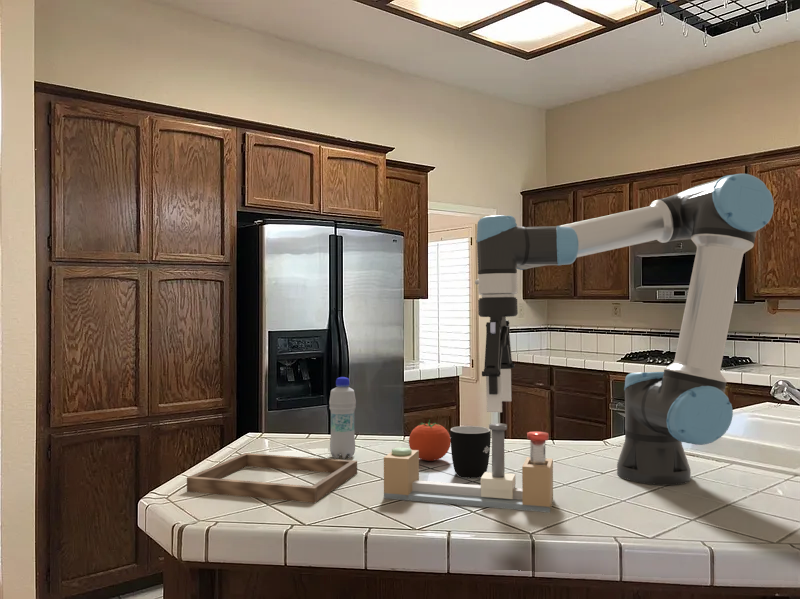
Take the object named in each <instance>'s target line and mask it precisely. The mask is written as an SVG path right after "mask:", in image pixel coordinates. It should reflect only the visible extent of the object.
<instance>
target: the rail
mask: <svg viewBox="0 0 800 599" xmlns="http://www.w3.org/2000/svg"><path fill="white" fill-rule="evenodd" d="M545 463H546V465H533V464H530V456H526V457H525V460H524V462H523V464H522V468H521V469H522V471H521V474H522V475H521V476H522V480H521V482H522V484H521V485H522V488H521V487H515V488H514V489H513V499H503V498H491V497H481V484H469V483H468V484H467V483H455V482H443V481H430V480H429V481H428V480H420V458H419V450H411V449H410V447H394V448H392V449H391V452H389V453H388V454H387V455H385V456H384V457H383V498H384V499H389V500H390V499H391V500H403V501H412V502H413V501H415V502H422V503H423V502H424V503H425V502H427V503H434V504H435V503H437V504H450V505H451V504H452V505H459V506H460V505H461V506H474V507H483V508H494V509H495V508H497V509H507V510H517V511H518V510H519V511H520V510H522V511H533V512H543V513H551V510H552V506H553V501H554V459H553V458H549V457H547V458H546V457H545Z"/></svg>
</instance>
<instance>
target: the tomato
mask: <svg viewBox="0 0 800 599" xmlns="http://www.w3.org/2000/svg"><path fill="white" fill-rule="evenodd" d="M408 446H409V449H411V450H419V460H422V461H427V462H433V461H437V460H440V459H442V458H443V457H445V455H447V453H448V452H449V451H450V449H451V440H450V432H449V431H448V429H446V428H445V427H444V426H443V425H441V424H439V423H437V422H434V423H431V419H428V422H427V423H423V422H420V423H419V424H417V426H415V427H414V428H413V429H412V430H411V433H410V434H409V437H408Z"/></svg>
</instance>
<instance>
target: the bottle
mask: <svg viewBox="0 0 800 599" xmlns="http://www.w3.org/2000/svg"><path fill="white" fill-rule="evenodd" d="M335 386H336V387H334V388H332V389H331V390H330V395H329V401H328V404H329V410H330V442H329V451H330V452H329V453H330V455H331V457H332V458H334V459H340V456H341V458H342V460H346V457H347V458H348V459H349V458H352V457H353V456H354V454H355V452H356V438H355V410H356V408H357V407H356V404H357V400H356V394H355V389H353V388H351V387H350V379H349V377H345V376H340V377H337V378H336V380H335Z"/></svg>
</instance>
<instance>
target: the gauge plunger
mask: <svg viewBox="0 0 800 599" xmlns="http://www.w3.org/2000/svg"><path fill="white" fill-rule="evenodd" d="M526 434H527V435H526V439H527V440H529V442H530V443H529V444H530V446H529V447H530V448H529V452H530V456H529V457H530V464H533V465H546V463H545V458H546V441H548V440H550V437H549V433H548V432H545V431H529V432H528V431H527V432H526Z"/></svg>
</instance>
